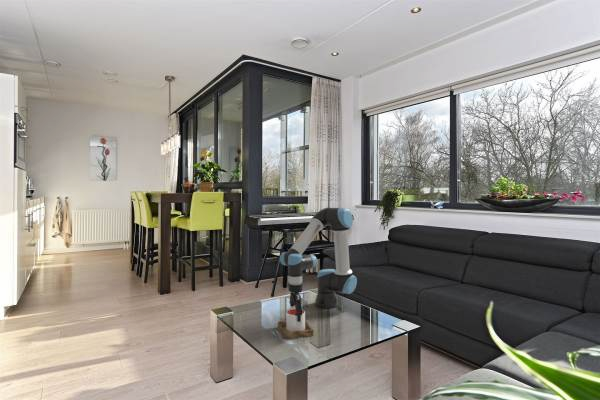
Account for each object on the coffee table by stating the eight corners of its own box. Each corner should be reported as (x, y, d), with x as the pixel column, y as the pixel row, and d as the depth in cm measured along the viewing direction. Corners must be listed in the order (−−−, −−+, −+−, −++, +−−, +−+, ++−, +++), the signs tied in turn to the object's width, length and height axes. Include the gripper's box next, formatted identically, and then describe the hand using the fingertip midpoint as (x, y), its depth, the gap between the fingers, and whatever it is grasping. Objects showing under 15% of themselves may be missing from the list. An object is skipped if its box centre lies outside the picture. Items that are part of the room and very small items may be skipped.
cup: (303, 334, 184) (302, 315, 184) (284, 333, 186) (284, 314, 186) (306, 327, 194) (306, 309, 194) (288, 326, 196) (288, 308, 196)
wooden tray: (305, 324, 200) (305, 319, 200) (313, 335, 184) (313, 330, 184) (277, 327, 196) (277, 321, 196) (283, 338, 181) (282, 333, 181)
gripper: (284, 278, 201) (284, 315, 201) (293, 290, 177) (293, 332, 177) (296, 277, 203) (297, 314, 203) (308, 289, 178) (308, 330, 179)
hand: (295, 322), depth 190 cm, fingers open, 13 cm apart
